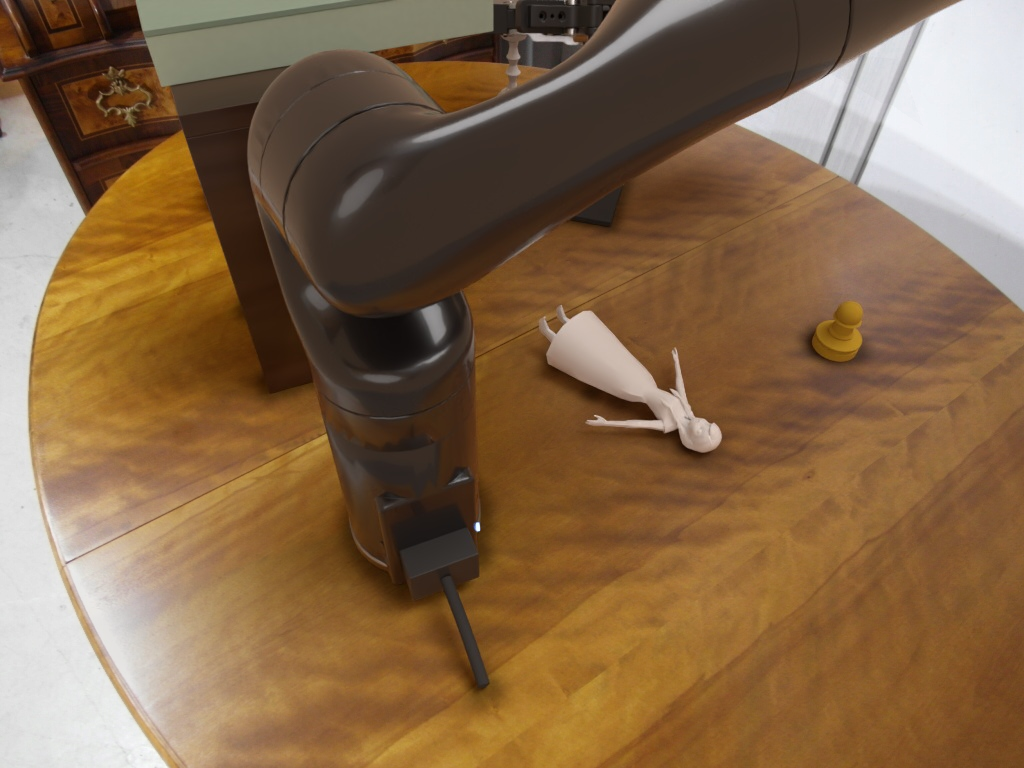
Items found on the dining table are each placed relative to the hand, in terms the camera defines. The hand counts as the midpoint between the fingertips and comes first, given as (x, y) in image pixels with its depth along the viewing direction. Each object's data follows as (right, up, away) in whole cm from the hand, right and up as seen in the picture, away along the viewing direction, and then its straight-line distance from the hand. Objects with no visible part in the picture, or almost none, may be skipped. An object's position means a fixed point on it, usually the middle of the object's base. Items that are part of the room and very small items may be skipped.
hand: (489, 17), depth 58 cm
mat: (+3, -4, +28) cm, 28 cm away
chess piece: (+30, -24, +11) cm, 40 cm away
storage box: (-11, -5, -7) cm, 13 cm away
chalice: (+2, +6, +37) cm, 37 cm away
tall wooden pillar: (-15, -23, +11) cm, 29 cm away
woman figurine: (+11, -29, +7) cm, 31 cm away
